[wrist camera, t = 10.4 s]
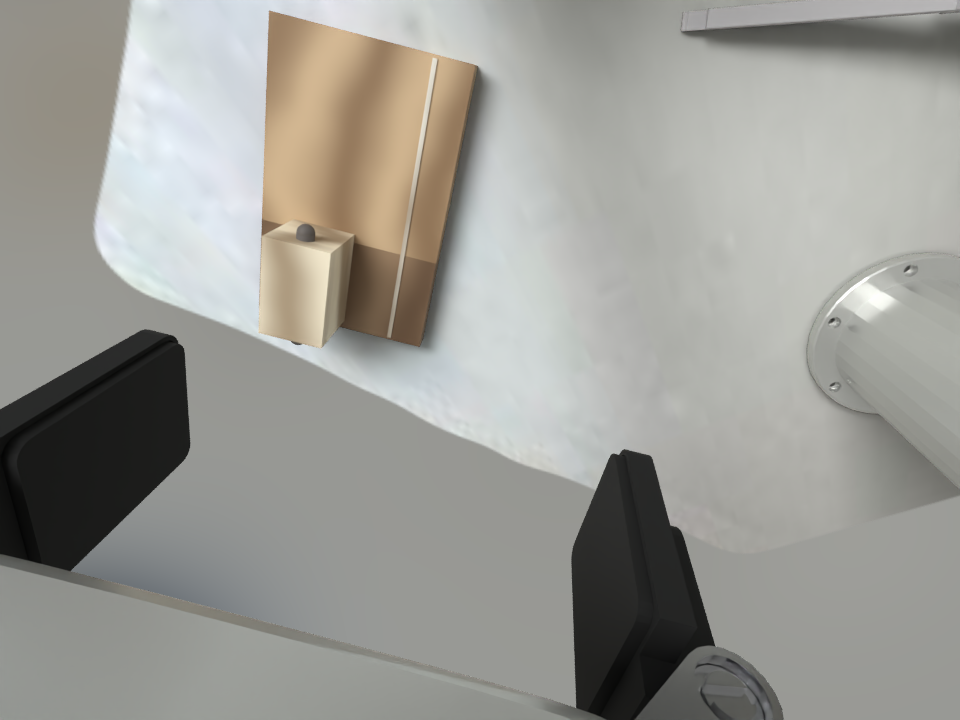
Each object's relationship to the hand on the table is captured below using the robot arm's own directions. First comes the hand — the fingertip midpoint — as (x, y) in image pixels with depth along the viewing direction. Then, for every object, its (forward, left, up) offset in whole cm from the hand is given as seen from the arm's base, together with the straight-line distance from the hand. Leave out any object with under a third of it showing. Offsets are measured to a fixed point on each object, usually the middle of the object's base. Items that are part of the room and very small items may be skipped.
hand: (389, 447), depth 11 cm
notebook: (+9, +2, -29) cm, 31 cm away
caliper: (-19, -16, -30) cm, 38 cm away
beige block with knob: (+11, +8, -28) cm, 31 cm away
